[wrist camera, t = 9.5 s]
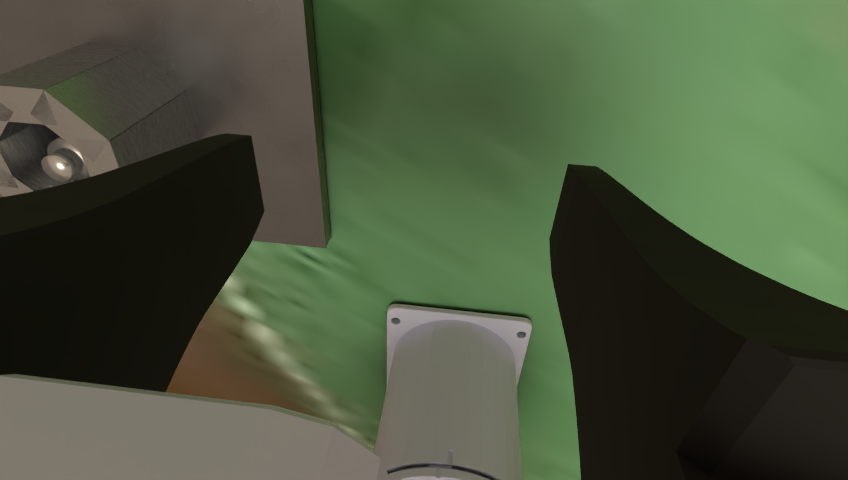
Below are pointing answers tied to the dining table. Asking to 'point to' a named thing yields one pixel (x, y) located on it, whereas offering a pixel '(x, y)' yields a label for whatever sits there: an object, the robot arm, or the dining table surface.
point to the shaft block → (207, 85)
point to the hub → (88, 113)
